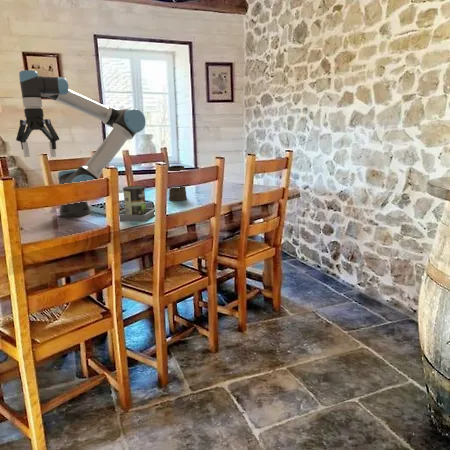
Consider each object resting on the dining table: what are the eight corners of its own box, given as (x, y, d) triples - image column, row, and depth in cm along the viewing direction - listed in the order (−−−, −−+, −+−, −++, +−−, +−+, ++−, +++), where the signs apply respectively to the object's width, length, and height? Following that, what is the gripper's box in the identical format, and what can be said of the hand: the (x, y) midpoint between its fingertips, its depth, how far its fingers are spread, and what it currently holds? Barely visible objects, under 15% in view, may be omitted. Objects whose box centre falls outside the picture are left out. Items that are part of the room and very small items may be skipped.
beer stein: (188, 200, 232) (186, 166, 227) (170, 201, 230) (168, 167, 224) (184, 196, 247) (182, 164, 241) (167, 197, 244) (165, 165, 239)
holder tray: (114, 220, 190) (113, 214, 189) (129, 212, 205) (128, 207, 204) (144, 221, 186) (144, 215, 186) (157, 213, 201) (157, 208, 201)
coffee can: (149, 213, 199) (147, 185, 196) (141, 217, 190) (139, 189, 186) (130, 212, 201) (128, 185, 198) (122, 217, 192) (119, 189, 188)
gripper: (63, 107, 173) (69, 155, 179) (14, 109, 178) (21, 156, 184) (53, 107, 166) (59, 157, 172) (2, 108, 171) (10, 157, 177)
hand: (40, 156), depth 178 cm, fingers open, 13 cm apart
